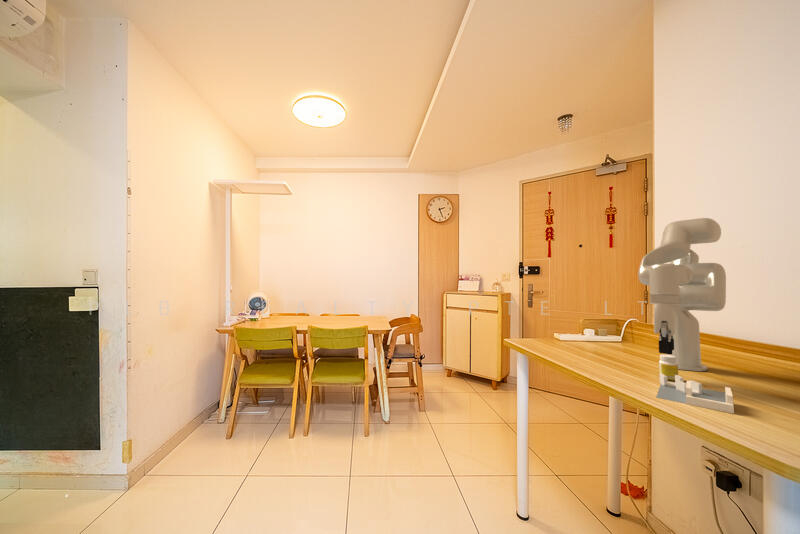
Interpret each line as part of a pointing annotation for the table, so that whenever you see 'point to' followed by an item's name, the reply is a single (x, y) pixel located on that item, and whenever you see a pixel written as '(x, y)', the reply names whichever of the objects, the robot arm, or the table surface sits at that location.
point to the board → (677, 396)
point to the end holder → (710, 403)
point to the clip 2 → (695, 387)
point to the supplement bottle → (668, 367)
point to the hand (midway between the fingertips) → (666, 351)
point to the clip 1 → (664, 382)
